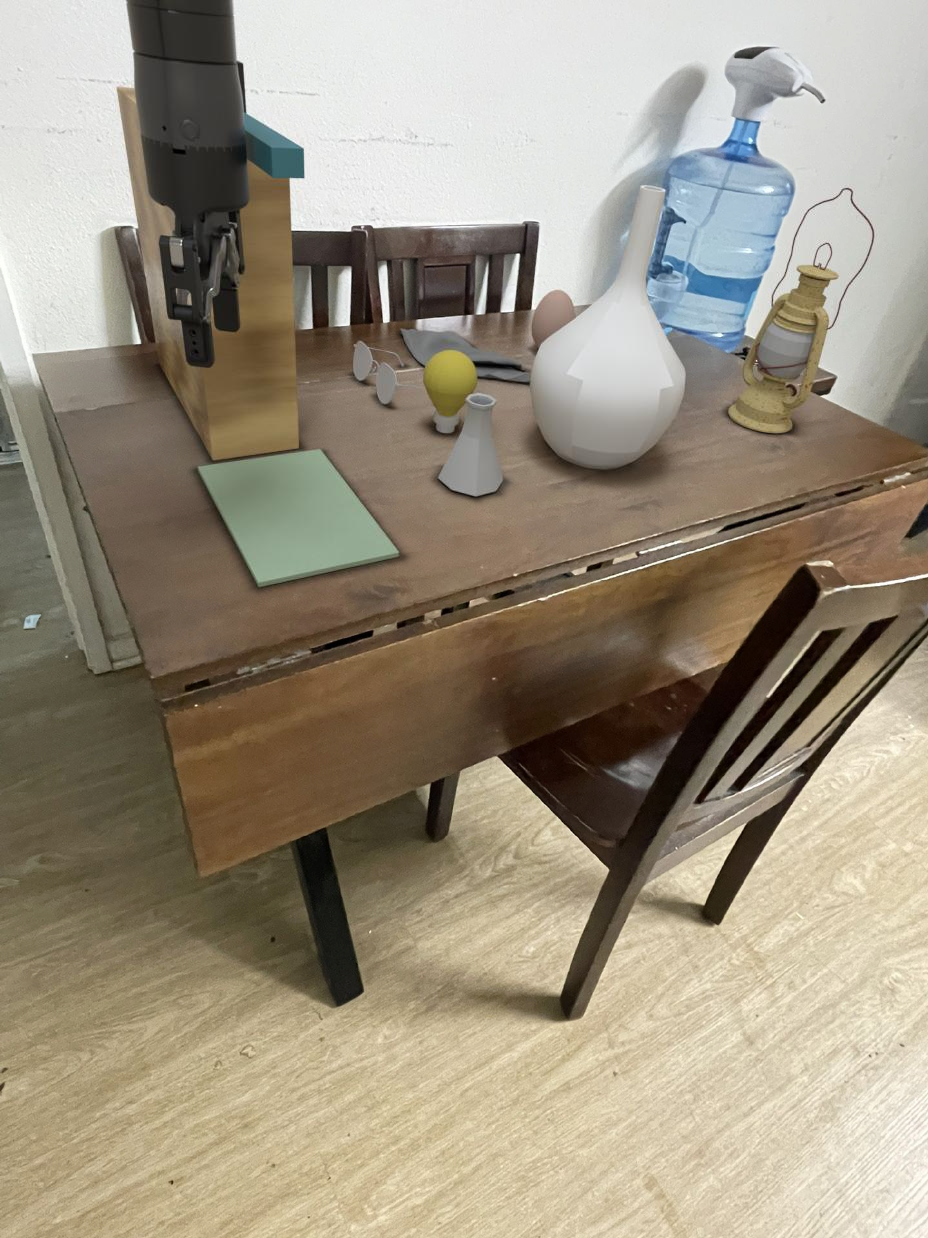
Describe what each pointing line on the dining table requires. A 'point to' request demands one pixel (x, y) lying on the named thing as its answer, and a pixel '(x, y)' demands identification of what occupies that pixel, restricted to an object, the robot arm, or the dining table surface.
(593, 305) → the vase
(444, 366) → the light bulb
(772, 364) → the lantern
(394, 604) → the dining table surface
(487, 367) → the cloth
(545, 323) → the egg
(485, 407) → the flask
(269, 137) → the hammer
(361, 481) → the dining table surface
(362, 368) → the sunglasses
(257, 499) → the mat
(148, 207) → the stand
